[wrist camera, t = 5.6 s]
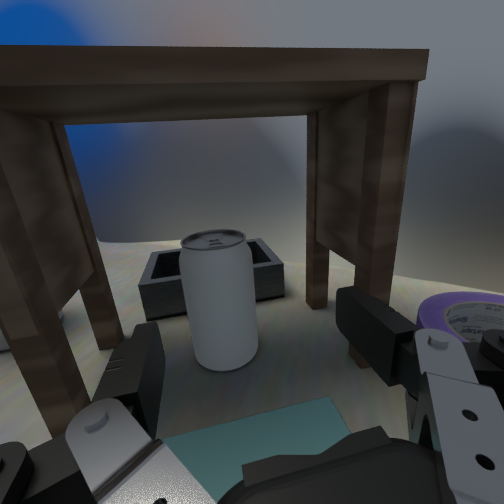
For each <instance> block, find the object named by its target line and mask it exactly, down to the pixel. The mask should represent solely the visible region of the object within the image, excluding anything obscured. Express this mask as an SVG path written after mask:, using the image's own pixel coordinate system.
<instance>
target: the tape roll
mask: <svg viewBox="0 0 504 504" xmlns="http://www.w3.org/2000/svg"><path fill="white" fill-rule="evenodd" d="M416 326H418V327H419V328H420V329H426V328H430V329H437V330H441V331H444V332H447V333H449V334H451V335H453V336H455V337H456V338H458V339H459V340H460V341H461V342H481V339H482V335H483V332H484V331H486V330H489V329H500V330H504V296H502V295H496V294H489V293H481V292H447V293H442V294H437V295H434V296H431V297H429V298H427V299H426V300H424V301H423V302H422V303H421V305H420V307H419V310H418V315H417V322H416Z"/></svg>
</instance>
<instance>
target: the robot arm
mask: <svg viewBox="0 0 504 504" xmlns="http://www.w3.org/2000/svg"><path fill="white" fill-rule="evenodd" d="M336 324H337V327H338V329H339V330H340V332H341V333H342V334H343V335H344V336H345V337H346V339H347V340H348V341H349V342H350V343H351V344H352V345H353V347H354V348H355V349H356V350H357V351H358V352H359V353H360V355H361V356H362V357H363V358H364V359H365V360H366V361H367V363H368V364H369V365H370V366H371V367H372V368H373V369H374V371H375V372H376V373H377V374H378V375H379V376H380V377H381V379H382V380H383V381H384V382H385V383H386V384H387V385H388V387H390V386H394V385H398V384H402V385H403V386H404V387H405V388H406V392H405V398H406V409H407V421H408V432H409V441H407V440H403V439H397V438H389V437H388V435H387V434H386V433H385V431H384V430H383V428H382V427H381V426H377V427H373V428H370V429H366V430H363V431H359V432H356V433H352V434H349V435H347V436H346V437H344V438H343V439H341V440H340V441H338V442H337V443H335V444H334V445H332V446H331V447H330V448H328V449H327V450H325V451H324V452H322V453H320V454H317V455H275V456H271V457H268V458H264V459H261V460H257V461H254V462H250V463H247V464H243V465H241V466H242V474H243V480H241V481H240V482H238V483H237V484H235V485H234V486H233V487H232V488H231V489H229V490H228V491H227V492H226V493H225V494H224V495H223V496H222V497H221V499H220V500H219V501H218V502H217V503H216V502H215V501H214V500H213V499H212V497H211V496H210V495H209V494H208V493H207V492H206V490H205V489H204V488H203V487H202V486H201V485H200V483H199V482H198V481H197V480H196V479H195V478H194V477H193V475H192V474H191V473H190V472H189V471H188V470H187V468H186V467H185V466H184V465H183V464H182V463H181V461H180V460H179V459H178V458H177V457H176V456H175V455H174V453H173V452H172V451H171V450H170V449H169V448H168V446H167V445H166V444H165V443H164V442H163V441H162V440H160V439H157V440H156V441H155V437H156V429H157V422H158V415H159V408H160V401H161V393H162V386H163V379H164V372H165V355H164V350H163V345H162V341H161V337H160V332H159V328H158V324H157V322H156V321H154V322H149V323H143V324H138V325H136V326H135V329H134V332H133V335H132V337H131V339H126V340H123V341H122V342H121V343H120V344H119V345H118V346H117V347H116V348H115V349H114V350H113V352H112V355H111V357H110V359H109V362H108V364H107V366H106V369H105V371H104V373H103V376H102V378H101V380H100V383H99V385H98V387H97V390H96V392H95V394H94V397H93V399H92V401H91V404H90V405H88V406H86V407H85V408H84V409H82V410H81V411H80V412H79V413H78V414H77V415H76V416H75V417H74V418H73V419H72V420H71V422H70V423H69V425H68V427H67V429H66V432H64V433H63V434H61V435H59V436H57V437H56V438H54V439H52V440H49V441H47V442H45V443H43V444H41V445H39V446H37V447H35V448H33V449H31V450H29V451H27V449H26V447H25V446H24V445H23V443H20V442H8V443H4V444H1V445H0V504H504V330H500V329H489V330H486V331H484V332H483V335H482V339H481V342H461V341H460V340H459V339H458V338H456V337H455V336H453V335H451V334H449V333H447V332H444V331H441V330H437V329H430V328H426V329H420V328H419V327H418V326H416V325H415V324H413V323H412V322H411V321H409V320H408V319H407V318H405V317H404V316H402V315H401V314H400V313H398V312H395V310H394V309H393V308H391V307H390V306H388V305H387V304H386V303H385V302H383V301H382V300H380V299H379V298H376V297H374V296H371V295H369V294H366V293H364V292H363V291H362V290H360V289H359V288H358V287H356V286H349V287H343V288H339V289H338V290H337V293H336Z"/></svg>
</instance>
